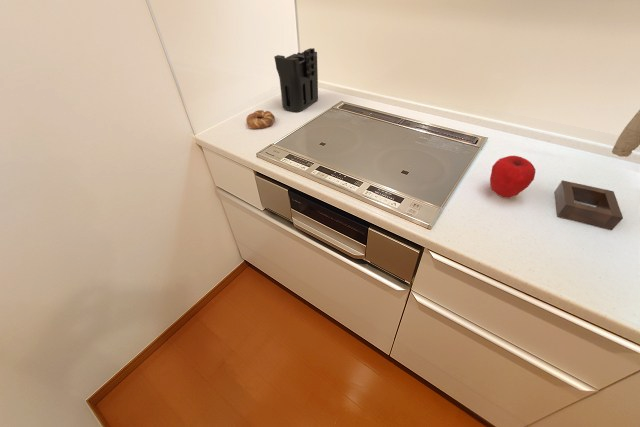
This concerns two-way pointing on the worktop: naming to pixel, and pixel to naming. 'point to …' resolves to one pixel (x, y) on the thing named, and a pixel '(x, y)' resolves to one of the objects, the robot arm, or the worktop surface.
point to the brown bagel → (260, 119)
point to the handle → (628, 138)
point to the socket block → (598, 216)
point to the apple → (511, 176)
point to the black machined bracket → (298, 79)
